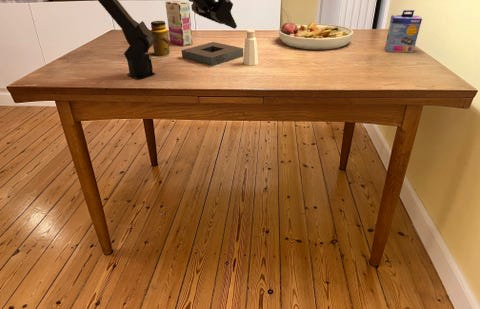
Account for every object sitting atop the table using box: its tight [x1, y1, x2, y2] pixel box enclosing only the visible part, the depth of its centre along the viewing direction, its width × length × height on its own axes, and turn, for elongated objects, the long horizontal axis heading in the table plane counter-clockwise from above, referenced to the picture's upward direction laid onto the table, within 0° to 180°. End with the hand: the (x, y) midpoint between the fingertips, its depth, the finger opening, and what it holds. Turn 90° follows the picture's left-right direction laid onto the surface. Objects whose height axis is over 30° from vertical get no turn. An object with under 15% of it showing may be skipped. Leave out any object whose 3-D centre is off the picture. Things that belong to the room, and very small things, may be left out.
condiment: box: [147, 20, 174, 59], centre depth 126 cm, size 7×8×12 cm
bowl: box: [278, 22, 354, 51], centre depth 139 cm, size 30×30×8 cm
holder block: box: [181, 41, 244, 67], centre depth 123 cm, size 16×16×3 cm
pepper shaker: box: [242, 29, 259, 66], centre depth 114 cm, size 5×5×11 cm
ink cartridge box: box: [384, 9, 423, 53], centre depth 123 cm, size 10×6×14 cm, turn 78°
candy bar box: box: [164, 0, 193, 47], centre depth 140 cm, size 11×5×16 cm, turn 41°
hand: (228, 25), depth 106 cm, fingers open, 9 cm apart
